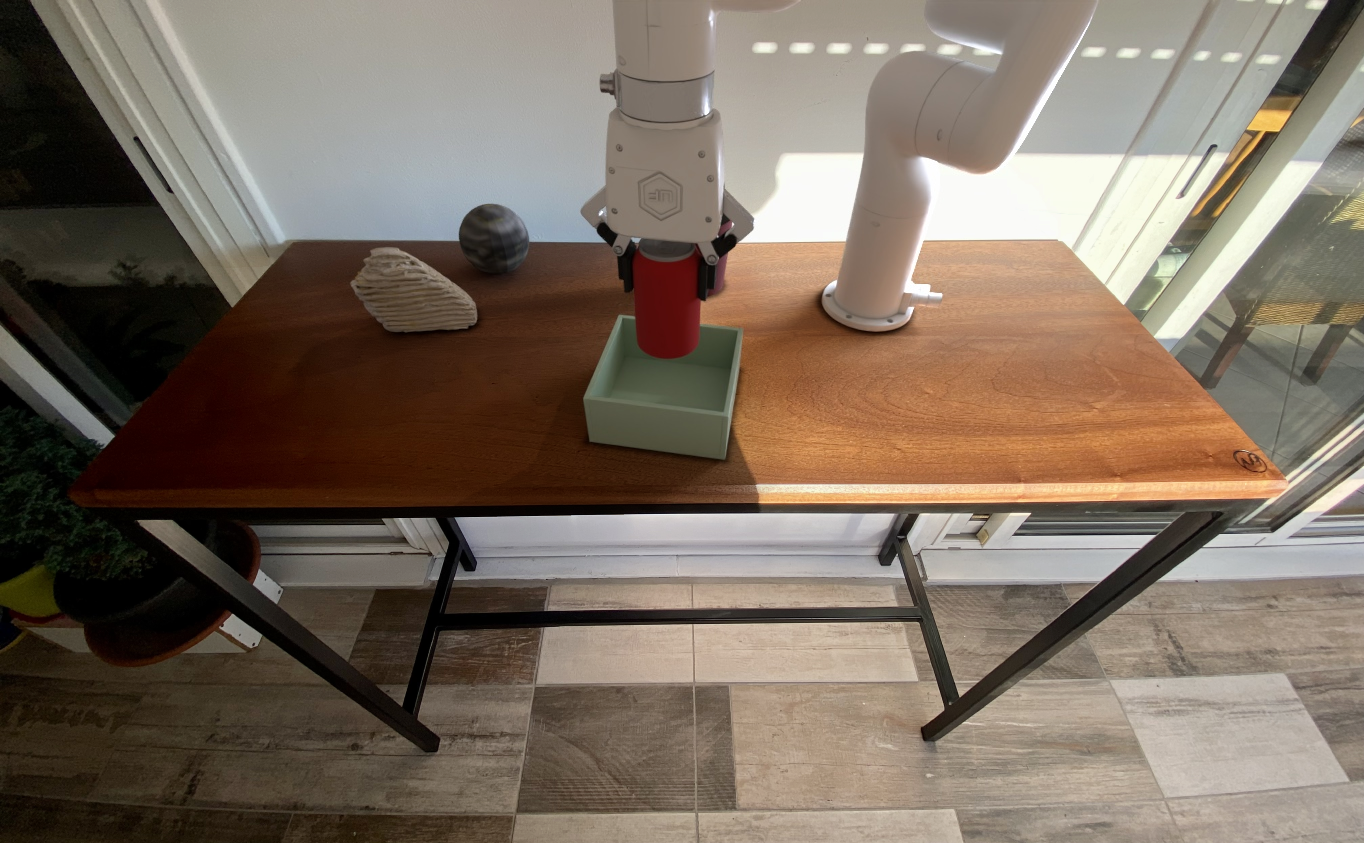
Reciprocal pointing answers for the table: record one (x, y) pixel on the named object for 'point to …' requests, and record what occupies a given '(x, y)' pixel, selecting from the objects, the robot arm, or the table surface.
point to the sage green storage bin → (665, 393)
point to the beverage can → (666, 297)
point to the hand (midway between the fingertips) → (667, 288)
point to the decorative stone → (494, 238)
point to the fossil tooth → (411, 294)
